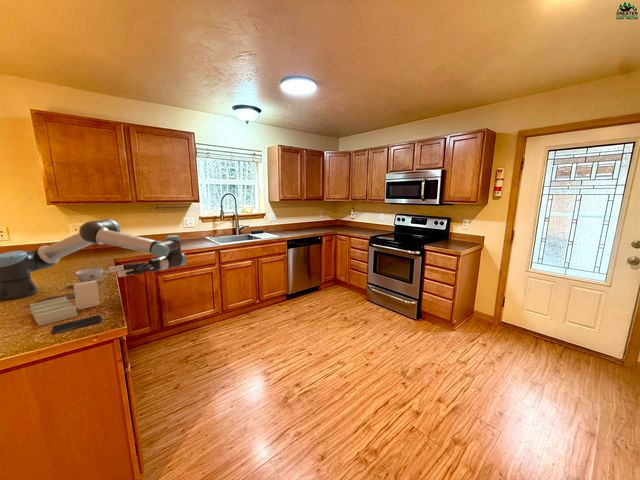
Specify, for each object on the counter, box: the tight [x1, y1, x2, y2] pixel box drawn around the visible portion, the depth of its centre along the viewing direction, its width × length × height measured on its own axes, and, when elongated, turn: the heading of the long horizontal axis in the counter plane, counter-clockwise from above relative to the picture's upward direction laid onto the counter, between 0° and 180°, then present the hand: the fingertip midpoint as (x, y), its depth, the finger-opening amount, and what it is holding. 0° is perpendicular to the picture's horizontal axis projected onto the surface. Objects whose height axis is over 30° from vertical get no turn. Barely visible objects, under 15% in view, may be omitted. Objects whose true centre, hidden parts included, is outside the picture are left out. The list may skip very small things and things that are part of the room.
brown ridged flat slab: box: [21, 292, 75, 309], centre depth 136 cm, size 26×11×1 cm, turn 146°
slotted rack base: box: [29, 297, 78, 327], centre depth 118 cm, size 20×12×4 cm, turn 54°
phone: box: [51, 314, 103, 335], centre depth 109 cm, size 8×1×15 cm
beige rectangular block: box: [72, 280, 101, 311], centre depth 127 cm, size 4×8×12 cm, turn 144°
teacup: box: [75, 267, 109, 283], centre depth 162 cm, size 15×12×8 cm
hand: (113, 272), depth 134 cm, fingers open, 13 cm apart
